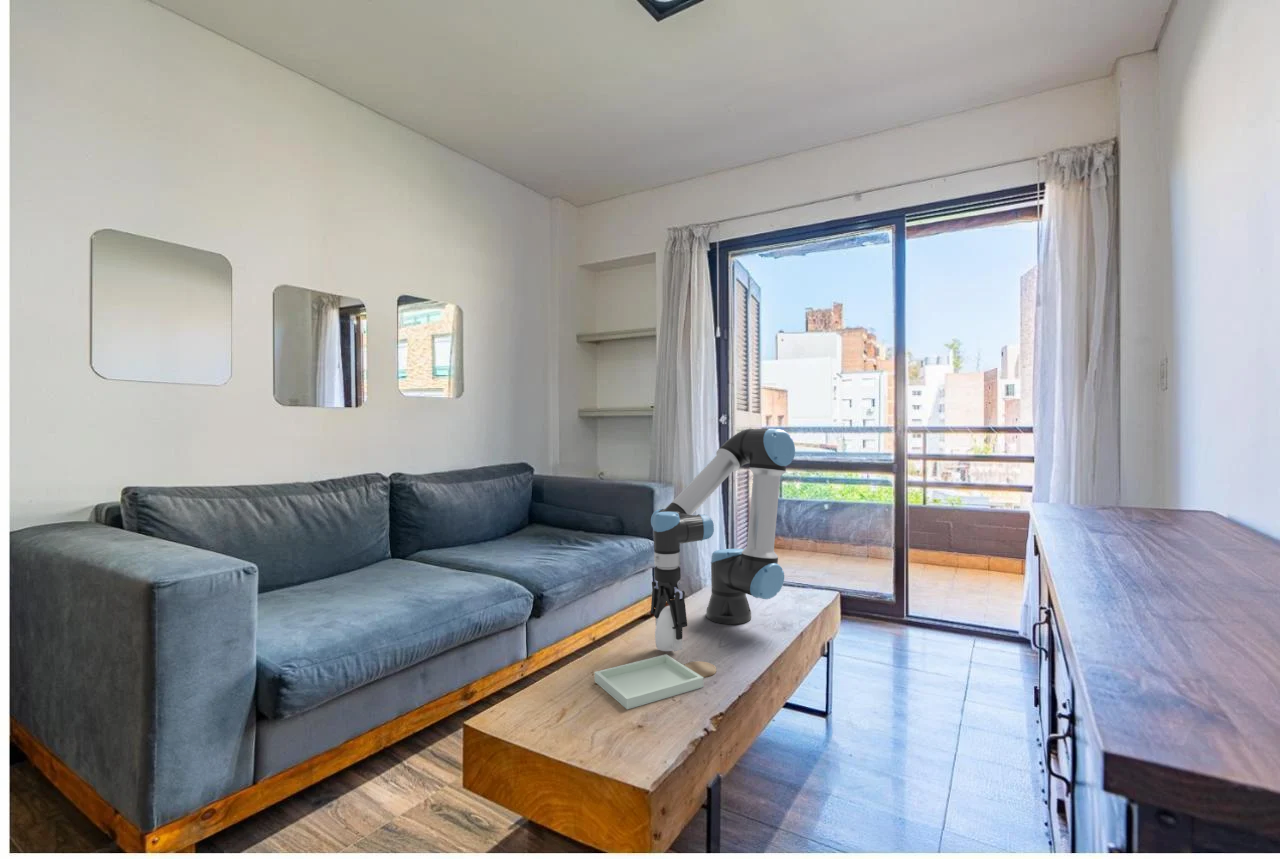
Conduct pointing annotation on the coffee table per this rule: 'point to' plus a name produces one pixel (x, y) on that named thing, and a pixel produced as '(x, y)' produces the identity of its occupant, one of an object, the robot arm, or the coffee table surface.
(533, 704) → the coffee table surface
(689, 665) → the metal coaster
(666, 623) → the figurine
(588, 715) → the coffee table surface
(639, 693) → the tray
